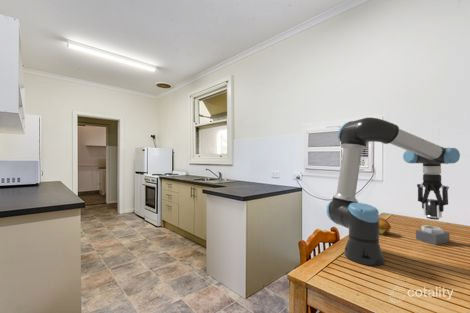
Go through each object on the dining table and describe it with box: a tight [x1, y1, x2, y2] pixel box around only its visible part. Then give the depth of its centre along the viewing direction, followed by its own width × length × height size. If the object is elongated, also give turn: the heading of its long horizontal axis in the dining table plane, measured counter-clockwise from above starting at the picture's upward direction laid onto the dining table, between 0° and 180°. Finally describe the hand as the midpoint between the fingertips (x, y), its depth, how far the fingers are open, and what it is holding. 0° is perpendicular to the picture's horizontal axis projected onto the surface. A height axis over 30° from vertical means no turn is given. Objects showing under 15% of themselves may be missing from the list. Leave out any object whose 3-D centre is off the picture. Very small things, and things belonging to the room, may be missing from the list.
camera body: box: [415, 224, 451, 246], centre depth 120 cm, size 13×9×7 cm
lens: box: [425, 198, 440, 221], centre depth 121 cm, size 5×5×10 cm
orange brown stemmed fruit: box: [379, 217, 392, 235], centre depth 133 cm, size 10×11×10 cm
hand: (432, 216), depth 121 cm, fingers closed on lens, 5 cm apart
